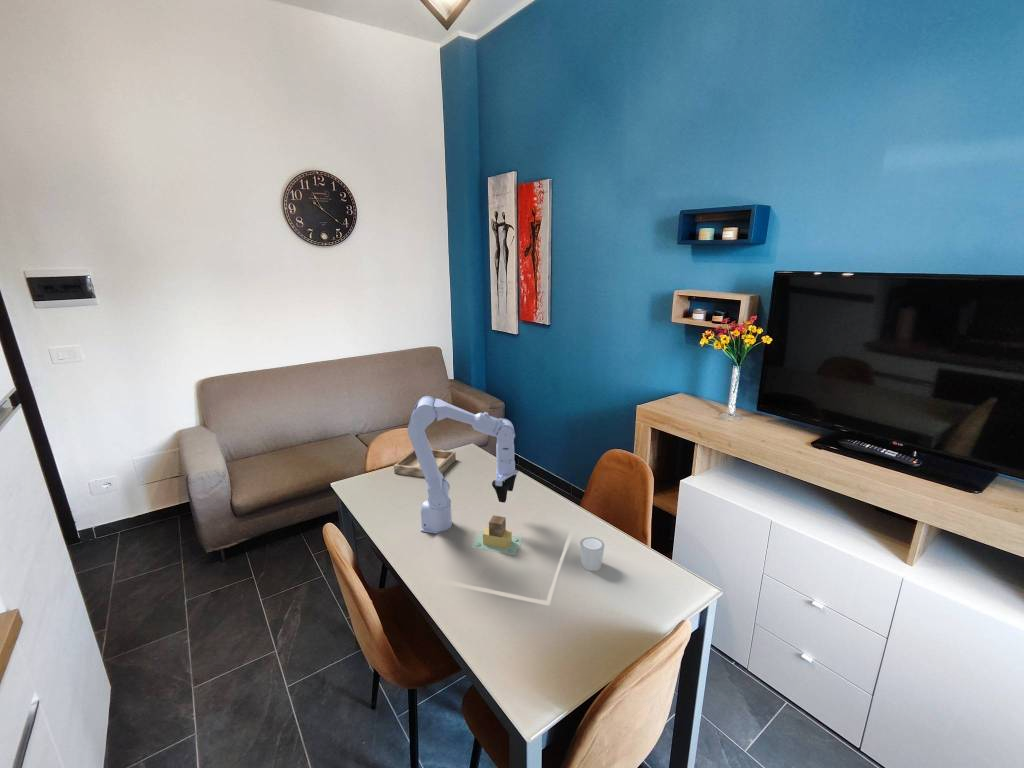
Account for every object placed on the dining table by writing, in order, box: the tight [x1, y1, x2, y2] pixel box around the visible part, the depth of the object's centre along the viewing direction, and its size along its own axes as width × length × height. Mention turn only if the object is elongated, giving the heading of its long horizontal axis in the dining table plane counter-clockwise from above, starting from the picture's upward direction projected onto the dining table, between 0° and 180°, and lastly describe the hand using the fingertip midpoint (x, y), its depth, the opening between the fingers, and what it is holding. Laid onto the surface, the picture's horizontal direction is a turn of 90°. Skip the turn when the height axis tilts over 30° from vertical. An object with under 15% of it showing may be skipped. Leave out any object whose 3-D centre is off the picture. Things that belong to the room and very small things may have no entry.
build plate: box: [470, 530, 524, 556], centre depth 145 cm, size 14×9×1 cm, turn 73°
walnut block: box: [488, 514, 507, 537], centre depth 144 cm, size 4×4×4 cm
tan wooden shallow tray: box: [393, 448, 457, 479], centre depth 199 cm, size 19×19×4 cm
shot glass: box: [579, 536, 605, 572], centre depth 135 cm, size 7×7×7 cm
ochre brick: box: [483, 526, 513, 549], centre depth 145 cm, size 8×4×4 cm, turn 73°
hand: (505, 495), depth 154 cm, fingers open, 7 cm apart
